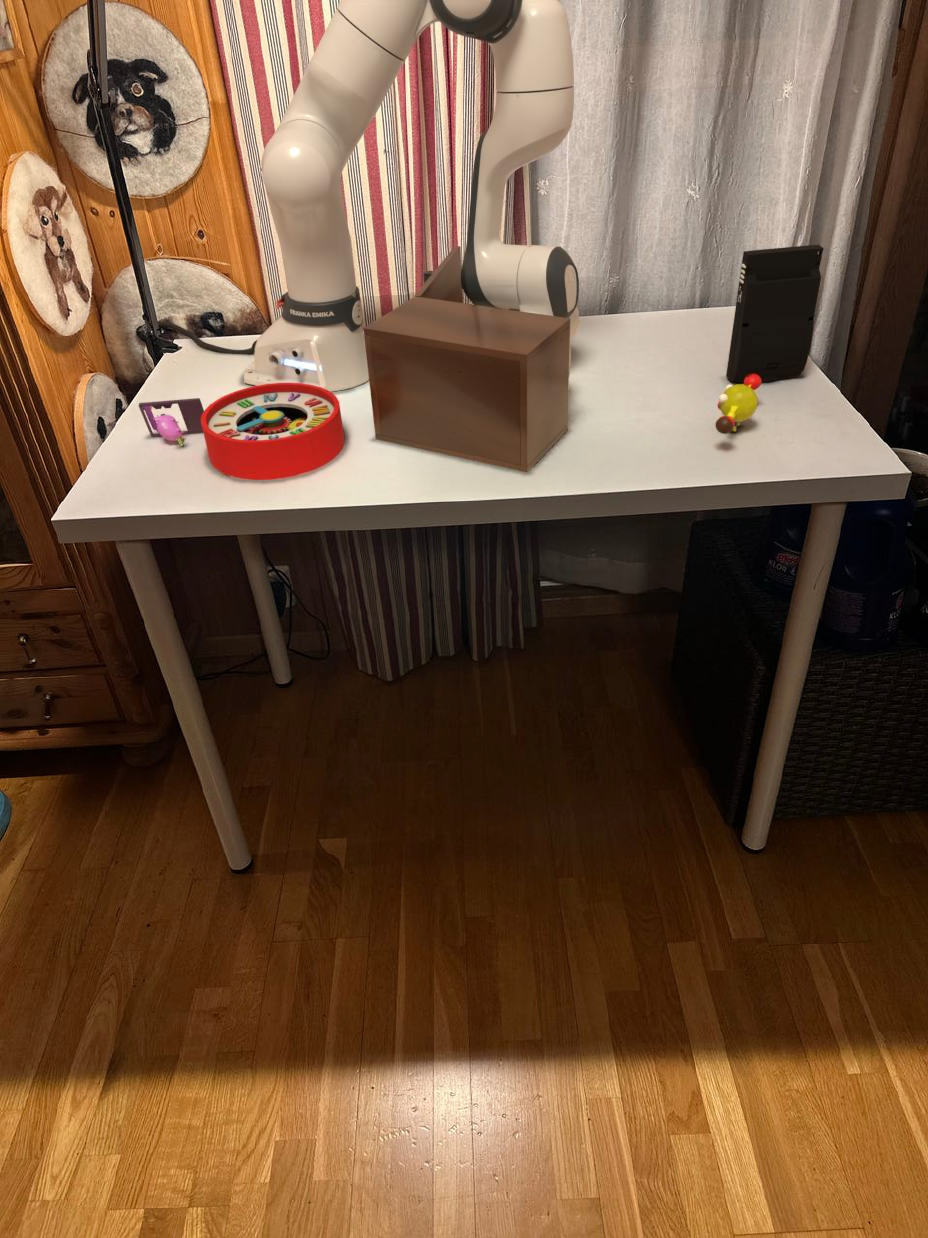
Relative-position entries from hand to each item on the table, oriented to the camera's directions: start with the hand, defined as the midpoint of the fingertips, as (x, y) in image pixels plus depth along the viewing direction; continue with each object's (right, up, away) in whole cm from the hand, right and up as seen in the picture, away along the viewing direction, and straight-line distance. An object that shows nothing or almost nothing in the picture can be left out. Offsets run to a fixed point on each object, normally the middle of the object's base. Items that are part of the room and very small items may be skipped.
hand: (478, 385), depth 135 cm
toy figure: (+38, -6, 0) cm, 38 cm away
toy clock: (-30, -9, +2) cm, 31 cm away
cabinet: (-1, -7, +2) cm, 7 cm away
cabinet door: (-8, +9, +23) cm, 26 cm away
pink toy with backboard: (-46, -7, +6) cm, 47 cm away
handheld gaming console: (+46, +4, +14) cm, 49 cm away
